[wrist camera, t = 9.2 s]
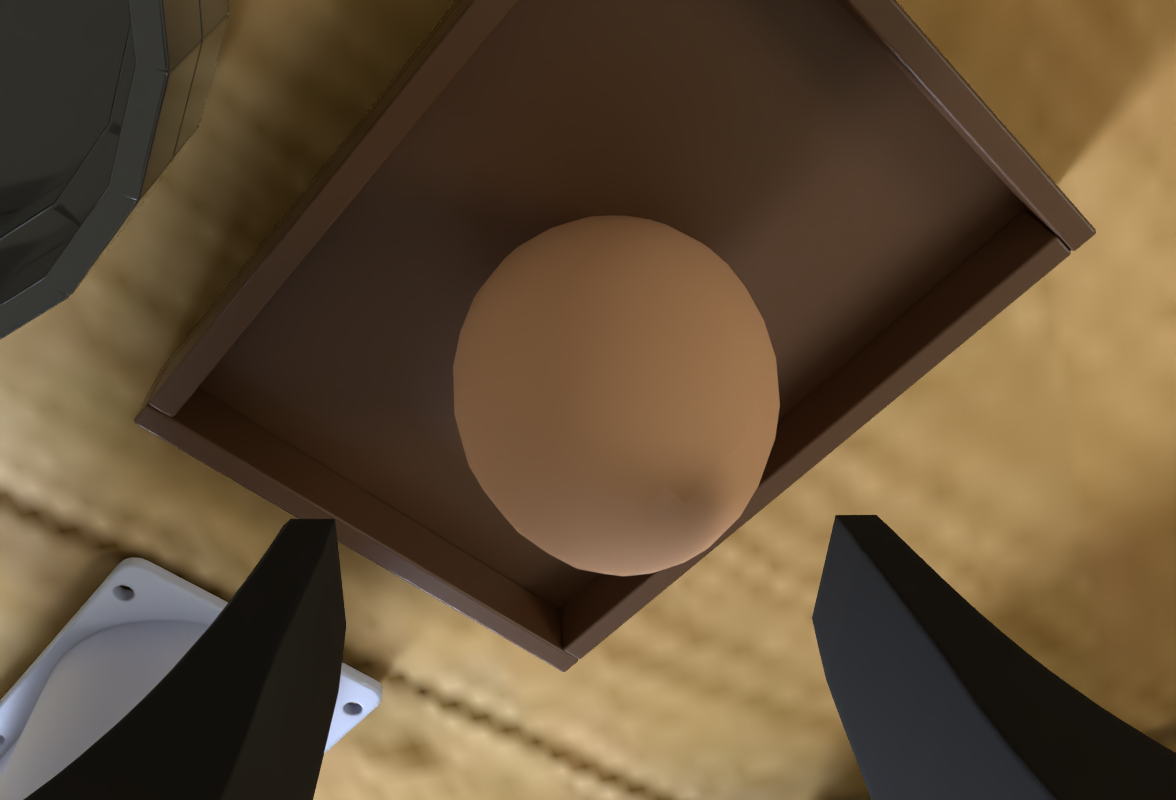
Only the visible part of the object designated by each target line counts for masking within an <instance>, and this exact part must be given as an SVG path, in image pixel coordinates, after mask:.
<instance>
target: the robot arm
mask: <svg viewBox="0 0 1176 800" xmlns="http://www.w3.org/2000/svg"><path fill="white" fill-rule="evenodd" d="M120 585H124V586H127V587H130V588H131V589H132V590H127V589H123V588H122V587H121V586H120ZM812 619H813V624H814V629H815V633H816V638H817V642H818V647H819V651H820V655H821V660H822V664H823V668H824V672H825V676H826V680H827V683H828V686H829V688H830V691H831V694H832V697H833V699H834V702H835V705H836V707H837V710H838V713H839V715H840V718H841V721H842V723H843V726H844V729H845V731H846V734H847V737H848V739H849V742H850V744H851V747H852V750H853V752H854V755H855V757H856V760H857V763H858V765H859V768H860V771H861V773H862V776H863V778H864V781H865V784H866V786H867V789H868V791H869V794H870V797H871V799H872V800H1176V753H1175V752H1173V751H1172V750H1170V749H1168V748H1166V747H1165V746H1163V745H1161V744H1159V743H1158V742H1156V741H1155V740H1153V739H1151V738H1150V737H1148V736H1146V735H1145V734H1143V733H1142V732H1140V731H1138V730H1137V729H1135V728H1133V727H1132V726H1130V725H1129V724H1127V723H1125V722H1124V721H1122V720H1120V719H1119V718H1117V717H1116V716H1114V715H1113V714H1111V713H1110V712H1108V711H1107V710H1105V709H1104V708H1102V707H1100V706H1099V705H1097V704H1096V703H1094V702H1093V701H1092V700H1090V699H1089V698H1087V697H1086V696H1085V695H1083V694H1082V693H1080V692H1079V691H1078V690H1076V689H1075V688H1073V687H1072V686H1071V685H1069V684H1068V683H1066V682H1065V681H1064V680H1062V679H1061V678H1059V677H1058V676H1057V675H1055V674H1054V673H1052V672H1051V671H1050V670H1048V669H1047V668H1046V667H1045V666H1043V665H1042V664H1041V663H1039V662H1038V661H1037V660H1035V659H1034V658H1033V657H1032V656H1030V655H1029V654H1028V653H1027V652H1025V651H1024V650H1023V649H1022V648H1021V647H1019V646H1018V645H1017V644H1016V643H1015V642H1013V641H1012V640H1011V639H1010V638H1008V637H1007V636H1006V635H1005V634H1004V633H1002V632H1001V631H1000V630H999V629H998V628H996V627H995V626H994V625H993V624H992V623H991V622H990V621H988V620H987V619H986V618H985V617H984V616H983V615H982V614H980V613H979V612H978V611H977V610H976V609H975V608H974V607H973V606H972V605H970V604H969V603H968V602H967V601H966V600H965V599H964V598H963V597H962V596H961V595H959V594H958V593H957V592H956V591H955V590H954V589H953V588H952V587H951V586H950V585H949V584H948V583H947V582H946V581H945V580H943V579H942V578H941V577H940V576H939V575H938V574H937V573H936V572H935V571H934V570H933V569H932V568H931V567H930V566H929V565H928V564H927V563H926V562H925V561H924V560H923V559H922V558H921V557H920V556H918V555H917V554H916V553H915V552H914V551H913V550H912V549H911V548H910V547H909V546H908V545H907V544H906V543H905V542H904V541H903V540H902V539H901V538H900V537H899V536H898V535H897V534H896V533H895V532H894V531H893V530H892V529H891V528H890V527H889V526H888V525H887V524H885V523H884V522H883V521H882V520H881V519H880V518H879V517H878V516H877V515H836V516H835V521H834V525H833V529H832V534H831V538H830V542H829V547H828V551H827V555H826V560H825V564H824V569H823V573H822V577H821V582H820V586H819V590H818V595H817V599H816V603H815V608H814V612H813V617H812ZM345 632H346V619H345V609H344V600H343V590H342V580H341V571H340V561H339V552H338V542H337V532H336V523H335V519H290V520H289V521H288V522H287V523H286V524H285V525H283V527H282V528H281V530H280V532H279V533H278V535H277V536H276V538H275V539H274V541H273V542H272V544H271V545H270V547H269V548H268V550H267V551H266V553H265V554H264V555H263V557H262V558H261V560H260V561H259V563H258V564H257V565H256V567H255V568H254V569H253V571H252V572H251V574H250V575H249V576H248V578H247V579H246V580H245V582H244V583H243V584H242V586H241V587H240V588H239V590H238V591H237V592H236V594H235V595H234V596H233V597H232V599H231V600H230V601H229V602H226V601H224V600H222V599H220V598H219V597H217V596H215V595H213V594H211V593H209V592H207V591H205V590H203V589H201V588H199V587H198V586H196V585H194V584H192V583H190V582H188V581H186V580H184V579H182V578H180V577H178V576H177V575H175V574H173V573H171V572H169V571H167V570H165V569H163V568H161V567H159V566H158V565H156V564H154V563H152V562H150V561H148V560H145V559H142V558H135V557H131V558H127V559H124V560H123V561H122V562H120V563H119V564H118V565H117V567H116V568H115V569H114V570H113V571H112V572H111V573H110V575H109V576H108V577H107V578H106V579H105V580H104V581H103V583H102V584H101V585H100V586H99V587H98V588H97V590H96V591H95V592H94V593H93V594H92V595H91V596H90V598H89V599H88V600H87V601H86V602H85V603H84V605H83V606H82V607H81V608H80V609H79V610H78V611H77V613H76V614H75V615H74V616H73V617H72V618H71V620H70V621H69V622H68V623H67V624H66V625H65V626H64V628H63V629H62V630H61V631H60V632H59V633H58V634H57V636H56V637H55V638H54V639H53V640H52V641H51V643H50V644H49V645H48V646H47V647H46V648H45V649H44V651H43V652H42V653H41V654H40V655H39V656H38V658H37V659H36V660H35V661H34V662H33V663H32V664H31V666H30V667H29V668H28V669H27V670H26V671H25V672H24V674H23V675H22V676H21V677H20V678H19V679H18V681H17V682H16V683H15V684H14V685H13V686H12V687H11V689H10V690H9V691H8V692H7V693H6V694H5V696H4V697H3V698H2V699H1V700H0V800H313V797H314V793H315V789H316V785H317V780H318V776H319V772H320V768H321V764H322V760H323V756H324V753H325V752H326V751H328V750H329V749H330V748H331V747H332V746H333V745H334V744H335V743H337V742H338V741H339V740H340V739H341V738H342V737H343V736H344V735H345V734H347V733H348V732H349V731H350V730H351V729H352V728H353V727H354V726H355V725H357V724H358V723H359V722H360V721H361V720H362V719H363V718H364V717H366V716H367V715H368V714H369V713H370V712H371V711H372V710H373V709H374V708H376V707H377V706H378V705H379V703H380V702H381V698H382V686H381V684H380V683H379V682H378V681H376V680H375V679H373V678H371V677H369V676H367V675H365V674H364V673H362V672H360V671H358V670H356V669H354V668H352V667H350V666H348V665H346V664H344V663H343V662H342V659H343V650H344V641H345ZM351 702H355V703H358V704H352V703H351Z"/></svg>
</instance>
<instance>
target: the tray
mask: <svg viewBox="0 0 1176 800" xmlns="http://www.w3.org/2000/svg"><path fill="white" fill-rule="evenodd" d="M591 216H631V217H637V218H643V219H650V220H653V221H656V222H660V223H663V224H666V225H668V226H670V227H672V228H674V229H676V230H678V231H680V232H682V233H684V234H686V235H688V236H689V237H691V238H693V239H695V240H697V241H699V242H701V243H703V244H704V245H705V246H707V247H708V248H710V249H711V250H712V251H713V252H714V253H715V254H717V255H718V256H719V257H720V258H721V259H722V260H723V261H724V262H726V263H727V264H728V265H729V267H730V268H731V269H732V270H733V272H734V273H735V274H736V276H737V277H738V278H739V279H740V281H741V282H742V283H743V285H744V286H745V287H746V289H747V291H748V292H749V294H750V296H751V298H752V300H753V301H754V303H755V305H756V307H757V309H758V310H759V312H760V314H761V316H762V318H763V320H764V322H765V325H766V328H767V331H768V335H769V338H770V341H771V344H772V347H773V350H774V353H775V357H776V364H777V375H778V387H779V399H780V408H779V415H778V423H777V430H776V437H775V441H774V443H773V446H772V449H771V452H770V455H769V458H768V460H767V463H766V466H765V469H764V472H763V474H762V477H761V480H760V483H759V486H758V487H757V489H756V491H755V492H754V494H753V496H752V497H751V499H750V501H749V503H748V504H747V506H746V508H745V509H744V511H743V513H742V514H741V516H740V517H739V518H738V519H737V520H736V521H735V522H734V523H733V524H732V525H731V526H730V527H729V528H728V529H727V530H726V531H725V532H724V533H723V534H722V535H721V536H720V537H719V538H718V539H717V540H716V541H715V542H714V543H713V544H712V545H711V546H710V547H709V548H708V549H706V550H705V551H703V552H701V553H700V554H698V555H696V556H695V557H693V558H691V559H690V560H688V561H686V562H685V563H682V564H679V565H676V566H673V567H670V568H667V569H664V570H661V571H658V572H655V573H650V574H641V575H632V576H617V575H609V574H603V573H597V572H592V571H586V570H581V569H577V568H575V567H573V566H571V565H569V564H567V563H565V562H563V561H561V560H559V559H557V558H556V557H554V556H552V555H550V554H548V553H547V552H545V551H544V550H542V549H541V548H539V547H538V546H537V545H535V544H534V543H532V542H531V541H530V540H528V539H527V538H525V537H524V536H522V535H521V534H520V533H518V532H517V531H516V529H515V528H514V527H513V526H512V525H511V524H510V523H509V521H508V520H507V519H506V518H505V517H504V516H503V514H502V513H501V512H500V511H499V509H498V508H497V507H496V506H495V504H494V503H493V502H492V501H491V499H490V498H489V497H488V496H487V494H486V493H485V492H484V490H483V489H482V487H481V485H480V484H479V482H478V480H477V479H476V477H475V475H474V474H473V472H472V470H471V469H470V467H469V465H468V461H467V458H466V454H465V451H464V447H463V444H462V440H461V437H460V433H459V429H458V426H457V422H456V418H455V414H454V382H453V365H454V360H455V355H456V350H457V345H458V340H459V335H460V331H461V328H462V326H463V323H464V321H465V319H466V316H467V314H468V311H469V309H470V306H471V304H472V301H473V299H474V297H475V295H476V294H477V292H478V291H479V289H480V288H481V287H482V286H483V284H484V283H485V282H486V281H487V279H488V278H489V277H490V276H491V275H492V273H493V272H494V271H495V270H496V269H497V267H498V266H499V265H500V264H501V262H502V261H503V260H504V259H505V258H506V257H507V256H508V255H509V254H510V253H511V252H512V251H514V250H515V249H516V248H517V247H518V246H520V245H522V244H524V243H525V242H527V241H529V240H531V239H532V238H534V237H536V236H537V235H539V234H541V233H543V232H545V231H547V230H548V229H550V228H553V227H556V226H559V225H562V224H565V223H569V222H572V221H576V220H579V219H583V218H586V217H591ZM1095 233H1096V231H1095V229H1094V227H1093V226H1092V225H1091V224H1090V223H1089V222H1088V221H1087V219H1086V218H1085V217H1084V216H1083V215H1082V214H1081V213H1080V211H1079V210H1078V209H1077V208H1076V207H1075V206H1074V204H1073V203H1072V202H1071V201H1070V200H1069V199H1068V198H1067V196H1066V195H1065V194H1064V193H1063V192H1062V191H1061V190H1060V188H1059V187H1058V186H1057V185H1056V184H1055V183H1054V182H1053V180H1052V179H1051V178H1050V177H1049V176H1048V175H1047V174H1046V172H1045V171H1044V170H1043V169H1042V168H1041V167H1040V166H1039V164H1038V163H1037V162H1036V161H1035V160H1034V159H1033V157H1032V156H1031V155H1030V154H1029V153H1028V152H1027V151H1026V149H1025V148H1024V147H1023V146H1022V145H1021V144H1020V143H1019V141H1018V140H1017V139H1016V138H1015V137H1014V136H1013V135H1012V133H1011V132H1010V131H1009V130H1008V129H1007V128H1006V127H1005V125H1004V124H1003V123H1002V122H1001V121H1000V120H999V119H998V117H997V116H996V115H995V114H994V113H993V112H992V110H991V109H990V108H989V107H988V106H987V105H986V104H985V102H984V101H983V100H982V99H981V98H980V97H979V96H978V94H977V93H976V92H975V91H974V90H973V89H972V88H971V86H970V85H969V84H968V83H967V82H966V81H965V80H964V78H963V77H962V76H961V75H960V74H959V73H958V72H957V70H956V69H955V68H954V67H953V66H952V65H951V64H950V62H949V61H948V60H947V59H946V58H945V57H944V55H943V54H942V53H941V52H940V51H939V50H938V49H937V47H936V46H935V45H934V44H933V43H932V42H931V41H930V39H929V38H928V37H927V36H926V35H925V34H924V33H923V31H922V30H921V29H920V28H919V27H918V26H917V25H916V23H915V22H914V21H913V20H912V19H911V18H910V17H909V15H908V14H907V13H906V12H905V11H904V10H903V8H902V7H901V6H900V5H899V4H898V3H897V2H896V0H457V1H456V2H455V3H454V5H453V6H452V7H451V8H450V10H449V11H448V12H447V13H446V15H445V16H444V17H443V18H442V20H441V21H440V22H439V23H438V25H437V26H436V27H435V28H434V30H433V31H432V32H431V33H430V35H429V36H428V37H427V38H426V40H425V41H424V42H423V43H422V45H421V46H420V47H419V48H418V50H417V51H416V52H415V53H414V55H413V56H412V57H411V58H410V60H409V61H408V62H407V63H406V65H405V66H404V67H403V68H402V70H401V71H400V72H399V73H398V75H397V76H396V77H395V78H394V80H393V81H392V82H391V83H390V85H389V86H388V87H387V88H386V90H385V91H384V92H383V93H382V95H381V96H380V97H379V98H378V100H377V101H376V102H375V103H374V105H373V106H372V107H371V108H370V110H369V111H368V112H367V113H366V115H365V116H364V117H363V118H362V120H361V121H360V122H359V123H358V124H357V126H356V127H355V128H354V129H353V131H352V132H351V133H350V134H349V136H348V137H347V138H346V139H345V141H344V142H343V143H342V144H341V146H340V147H339V148H338V149H337V151H336V152H335V153H334V154H333V156H332V157H331V158H330V159H329V161H328V162H327V163H326V164H325V166H324V167H323V168H322V169H321V171H320V172H319V173H318V174H317V176H316V177H315V178H314V179H313V181H312V182H311V183H310V184H309V186H308V187H307V188H306V189H305V191H304V192H303V193H302V194H301V196H300V197H299V198H298V199H297V201H296V202H295V203H294V204H293V206H292V207H291V208H290V209H289V211H288V212H287V213H286V214H285V216H284V217H283V218H282V219H281V221H280V222H279V223H278V224H277V226H276V227H275V228H274V229H273V231H272V232H271V233H270V234H269V236H268V237H267V238H266V239H265V241H264V242H263V243H262V244H261V246H260V247H259V248H258V249H257V251H256V252H255V253H254V254H253V256H252V257H251V258H250V259H249V261H248V262H247V263H246V264H245V266H244V267H243V268H242V269H241V271H240V272H239V273H238V274H237V276H236V277H235V278H234V279H233V281H232V282H231V283H230V284H229V286H228V287H227V288H226V289H225V291H224V292H223V293H222V294H221V296H220V297H219V298H218V299H217V301H216V302H215V303H214V304H213V306H212V307H211V308H210V309H209V311H208V312H207V313H206V314H205V316H204V317H203V318H202V319H201V321H200V322H199V323H198V324H197V326H196V327H195V328H194V329H193V331H192V332H191V333H190V334H189V335H188V337H187V338H186V339H185V340H184V342H183V343H182V344H181V345H180V347H179V348H178V349H177V350H176V352H175V353H174V354H173V355H172V357H171V358H170V359H169V360H168V362H167V363H166V364H165V365H164V367H163V368H162V369H161V370H160V372H159V374H158V376H157V378H156V379H155V381H154V384H153V385H152V387H151V389H150V391H149V392H148V394H147V396H146V398H145V400H144V402H143V403H142V405H141V407H140V409H139V411H138V413H137V414H136V416H135V418H134V422H135V424H137V425H139V426H141V427H142V428H144V429H146V430H147V431H149V432H151V433H153V434H154V435H156V436H158V437H160V438H161V439H163V440H165V441H166V442H168V443H170V444H172V445H173V446H175V447H177V448H178V449H180V450H182V451H184V452H185V453H187V454H189V455H190V456H192V457H194V458H196V459H197V460H199V461H201V462H203V463H204V464H206V465H208V466H209V467H211V468H213V469H215V470H216V471H218V472H220V473H221V474H223V475H225V476H227V477H228V478H230V479H232V480H233V481H235V482H237V483H239V484H240V485H242V486H244V487H246V488H247V489H249V490H251V491H252V492H254V493H256V494H258V495H259V496H261V497H263V498H264V499H266V500H268V501H270V502H271V503H273V504H275V505H277V506H278V507H280V508H282V509H283V510H285V511H287V512H289V513H290V514H292V515H294V516H295V517H297V518H299V519H335V523H336V532H337V541H338V542H340V543H342V544H344V545H345V546H347V547H349V548H351V549H352V550H354V551H356V552H357V553H359V554H361V555H363V556H364V557H366V558H368V559H369V560H371V561H373V562H375V563H376V564H378V565H380V566H381V567H383V568H385V569H387V570H388V571H390V572H392V573H394V574H395V575H397V576H399V577H400V578H402V579H404V580H406V581H407V582H409V583H411V584H412V585H414V586H416V587H418V588H419V589H421V590H423V591H424V592H426V593H428V594H430V595H431V596H433V597H435V598H437V599H438V600H440V601H442V602H443V603H445V604H447V605H449V606H450V607H452V608H454V609H455V610H457V611H459V612H461V613H462V614H464V615H466V616H468V617H469V618H471V619H473V620H474V621H476V622H478V623H480V624H481V625H483V626H485V627H486V628H488V629H490V630H492V631H493V632H495V633H497V634H498V635H500V636H502V637H504V638H505V639H507V640H509V641H511V642H512V643H514V644H516V645H517V646H519V647H521V648H523V649H524V650H526V651H528V652H529V653H531V654H533V655H535V656H536V657H538V658H540V659H541V660H543V661H545V662H547V663H548V664H550V665H552V666H554V667H555V668H557V669H559V670H560V671H562V672H565V671H567V670H568V669H569V668H570V667H571V666H573V665H574V664H575V663H576V662H577V661H578V659H581V658H582V657H583V656H585V655H586V654H587V653H588V652H590V651H591V650H592V649H593V648H594V647H596V646H597V645H598V644H599V643H600V642H602V641H603V640H604V639H605V638H606V637H608V636H609V635H610V634H611V633H613V632H614V631H615V630H616V629H617V628H619V627H620V626H621V625H622V624H623V623H625V622H626V621H627V620H628V619H629V618H631V617H632V616H633V615H634V614H636V613H637V612H638V611H639V610H640V609H642V608H643V607H644V606H645V605H646V604H648V603H649V602H650V601H651V600H653V599H654V598H655V597H656V596H657V595H659V594H660V593H661V592H662V591H663V590H665V589H666V588H667V587H668V586H669V585H671V584H672V583H673V582H674V581H676V580H677V579H678V578H679V577H680V576H682V575H683V574H684V573H685V572H686V571H688V570H689V569H690V568H691V567H692V566H694V565H695V564H696V563H697V562H699V561H700V560H701V559H702V558H703V557H705V556H706V555H707V554H708V553H709V552H711V551H712V550H713V549H714V548H715V547H717V546H718V545H719V544H720V543H722V542H723V541H724V540H725V539H726V538H728V537H729V536H730V535H731V534H732V533H734V532H735V531H736V530H737V529H738V528H740V527H741V526H742V525H743V524H745V523H746V522H747V521H748V520H749V519H751V518H752V517H753V516H754V515H755V514H757V513H758V512H759V511H760V510H762V509H763V508H764V507H765V506H766V505H768V504H769V503H770V502H771V501H772V500H774V499H775V498H776V497H777V496H778V495H780V494H781V493H782V492H783V491H785V490H786V489H787V488H788V487H789V486H791V485H792V484H793V483H794V482H795V481H797V480H798V479H799V478H800V477H801V476H803V475H804V474H805V473H806V472H808V471H809V470H810V469H811V468H812V467H814V466H815V465H816V464H817V463H818V462H820V461H821V460H822V459H823V458H824V457H826V456H827V455H828V454H829V453H831V452H832V451H833V450H834V449H835V448H837V447H838V446H839V445H840V444H841V443H843V442H844V441H845V440H846V439H847V438H849V437H850V436H851V435H852V434H854V433H855V432H856V431H857V430H858V429H860V428H861V427H862V426H863V425H864V424H866V423H867V422H868V421H869V420H870V419H872V418H873V417H874V416H875V415H877V414H878V413H879V412H880V411H881V410H883V409H884V408H885V407H886V406H887V405H889V404H890V403H891V402H892V401H894V400H895V399H896V398H897V397H898V396H900V395H901V394H902V393H903V392H904V391H906V390H907V389H908V388H909V387H910V386H912V385H913V384H914V383H915V382H917V381H918V380H919V379H920V378H921V377H923V376H924V375H925V374H926V373H927V372H929V371H930V370H931V369H932V368H933V367H935V366H936V365H937V364H938V363H940V362H941V361H942V360H943V359H944V358H946V357H947V356H948V355H949V354H950V353H952V352H953V351H954V350H955V349H956V348H958V347H959V346H960V345H961V344H963V343H964V342H965V341H966V340H967V339H969V338H970V337H971V336H972V335H973V334H975V333H976V332H977V331H978V330H979V329H981V328H982V327H983V326H984V325H986V324H987V323H988V322H989V321H990V320H992V319H993V318H994V317H995V316H996V315H998V314H999V313H1000V312H1001V311H1003V310H1004V309H1005V308H1006V307H1007V306H1009V305H1010V304H1011V303H1012V302H1013V301H1015V300H1016V299H1017V298H1018V297H1019V296H1021V295H1022V294H1023V293H1024V292H1026V291H1027V290H1028V289H1029V288H1030V287H1032V286H1033V285H1034V284H1035V283H1036V282H1038V281H1039V280H1040V279H1041V278H1042V277H1044V276H1045V275H1046V274H1047V273H1049V272H1050V271H1051V270H1052V269H1053V268H1055V267H1056V266H1057V265H1058V264H1059V263H1061V262H1062V261H1063V260H1064V259H1065V258H1067V257H1068V256H1069V255H1070V254H1071V252H1070V250H1072V251H1075V250H1076V249H1078V248H1079V247H1080V246H1081V245H1082V244H1084V243H1085V242H1086V241H1087V240H1088V239H1090V238H1091V237H1092V236H1093V235H1095Z"/></svg>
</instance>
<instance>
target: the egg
mask: <svg viewBox="0 0 1176 800" xmlns="http://www.w3.org/2000/svg"><path fill="white" fill-rule="evenodd" d="M453 382H454V414H455V418H456V422H457V426H458V429H459V433H460V437H461V440H462V444H463V447H464V451H465V454H466V458H467V461H468V465H469V467H470V469H471V470H472V472H473V474H474V475H475V477H476V479H477V480H478V482H479V484H480V485H481V487H482V489H483V490H484V492H485V493H486V494H487V496H488V497H489V498H490V499H491V501H492V502H493V503H494V504H495V506H496V507H497V508H498V509H499V511H500V512H501V513H502V514H503V516H504V517H505V518H506V519H507V520H508V521H509V523H510V524H511V525H512V526H513V527H514V528H515V529H516V531H517V532H518V533H520V534H521V535H522V536H524V537H525V538H527V539H528V540H530V541H531V542H532V543H534V544H535V545H537V546H538V547H539V548H541V549H542V550H544V551H545V552H547V553H548V554H550V555H552V556H554V557H556V558H557V559H559V560H561V561H563V562H565V563H567V564H569V565H571V566H573V567H575V568H577V569H581V570H586V571H592V572H597V573H603V574H609V575H617V576H632V575H641V574H650V573H655V572H658V571H661V570H664V569H667V568H670V567H673V566H676V565H679V564H682V563H685V562H686V561H688V560H690V559H691V558H693V557H695V556H696V555H698V554H700V553H701V552H703V551H705V550H706V549H708V548H709V547H710V546H711V545H712V544H713V543H714V542H715V541H716V540H717V539H718V538H719V537H720V536H721V535H722V534H723V533H724V532H725V531H726V530H727V529H728V528H729V527H730V526H731V525H732V524H733V523H734V522H735V521H736V520H737V519H738V518H739V517H740V516H741V514H742V513H743V511H744V509H745V508H746V506H747V504H748V503H749V501H750V499H751V497H752V496H753V494H754V492H755V491H756V489H757V487H758V486H759V483H760V480H761V477H762V474H763V472H764V469H765V466H766V463H767V460H768V458H769V455H770V452H771V449H772V446H773V443H774V441H775V437H776V430H777V423H778V415H779V408H780V399H779V387H778V375H777V364H776V357H775V353H774V350H773V347H772V344H771V341H770V338H769V335H768V331H767V328H766V325H765V322H764V320H763V318H762V316H761V314H760V312H759V310H758V309H757V307H756V305H755V303H754V301H753V300H752V298H751V296H750V294H749V292H748V291H747V289H746V287H745V286H744V285H743V283H742V282H741V281H740V279H739V278H738V277H737V276H736V274H735V273H734V272H733V270H732V269H731V268H730V267H729V265H728V264H727V263H726V262H724V261H723V260H722V259H721V258H720V257H719V256H718V255H717V254H715V253H714V252H713V251H712V250H711V249H710V248H708V247H707V246H705V245H704V244H703V243H701V242H699V241H697V240H695V239H693V238H691V237H689V236H688V235H686V234H684V233H682V232H680V231H678V230H676V229H674V228H672V227H670V226H668V225H666V224H663V223H660V222H656V221H653V220H650V219H643V218H637V217H631V216H591V217H586V218H583V219H579V220H576V221H572V222H569V223H565V224H562V225H559V226H556V227H553V228H550V229H548V230H547V231H545V232H543V233H541V234H539V235H537V236H536V237H534V238H532V239H531V240H529V241H527V242H525V243H524V244H522V245H520V246H518V247H517V248H516V249H515V250H514V251H512V252H511V253H510V254H509V255H508V256H507V257H506V258H505V259H504V260H503V261H502V262H501V264H500V265H499V266H498V267H497V269H496V270H495V271H494V272H493V273H492V275H491V276H490V277H489V278H488V279H487V281H486V282H485V283H484V284H483V286H482V287H481V288H480V289H479V291H478V292H477V294H476V295H475V297H474V299H473V301H472V304H471V306H470V309H469V311H468V314H467V316H466V319H465V321H464V323H463V326H462V328H461V331H460V335H459V340H458V345H457V350H456V355H455V360H454V365H453Z"/></svg>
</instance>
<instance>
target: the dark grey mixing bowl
mask: <svg viewBox="0 0 1176 800" xmlns="http://www.w3.org/2000/svg"><path fill="white" fill-rule="evenodd" d="M228 13H229V0H0V340H1V339H2V338H4V337H6V336H7V335H9V334H10V333H12V332H14V331H15V330H17V329H19V328H20V327H22V326H23V325H25V324H27V323H28V322H30V321H32V320H33V319H35V318H36V317H38V316H40V315H41V314H43V313H45V312H46V311H48V310H49V309H51V308H53V307H54V306H56V305H58V304H59V303H61V302H62V301H64V300H66V299H67V298H68V297H69V296H70V295H71V294H73V292H74V291H75V290H76V289H77V287H78V286H79V285H80V283H81V282H82V281H83V280H84V278H85V277H86V276H87V274H88V273H89V272H90V271H91V269H92V268H93V267H94V266H95V264H96V263H97V262H98V260H99V259H100V258H101V257H102V255H103V254H104V253H105V251H106V250H107V249H108V248H109V246H110V245H111V244H112V243H113V241H114V240H115V239H116V237H117V236H118V235H119V234H120V232H121V231H122V230H123V228H124V227H125V226H126V225H127V223H128V222H129V221H130V220H131V218H132V217H133V216H134V214H135V213H136V212H137V211H138V209H139V208H140V207H141V205H142V204H143V203H144V201H145V200H146V199H147V197H148V196H149V194H150V193H151V192H152V190H153V189H154V188H155V186H156V185H157V183H158V182H159V181H160V179H161V178H162V177H163V175H164V174H165V172H166V171H167V170H168V168H169V167H170V166H171V164H172V163H173V161H174V160H175V159H176V157H177V156H178V155H179V153H180V152H181V150H182V149H183V148H184V146H185V145H186V144H187V142H188V141H189V139H190V138H191V137H192V135H193V134H194V133H195V131H196V130H197V128H198V127H199V124H200V122H201V120H202V116H203V112H204V109H205V105H206V101H207V97H208V93H209V89H210V86H211V82H212V78H213V74H214V70H215V67H216V63H217V59H218V55H219V51H220V48H221V44H222V40H223V36H224V32H225V28H226V25H227V21H228Z"/></svg>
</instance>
